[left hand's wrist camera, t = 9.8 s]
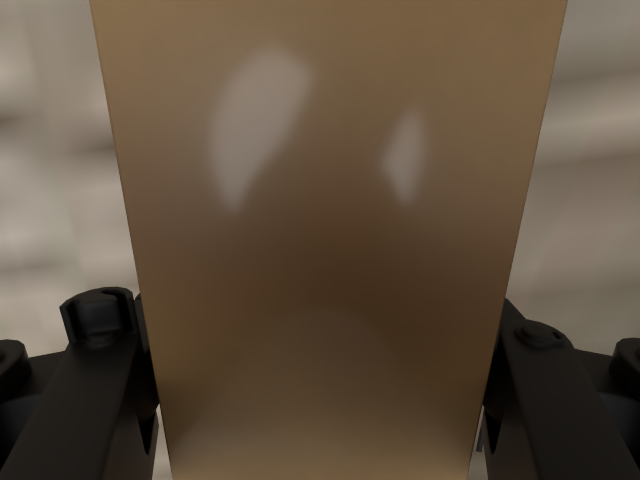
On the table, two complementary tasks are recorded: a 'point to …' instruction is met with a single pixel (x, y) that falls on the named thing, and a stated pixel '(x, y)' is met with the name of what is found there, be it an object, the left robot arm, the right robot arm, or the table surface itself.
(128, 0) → the beam
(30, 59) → the table surface
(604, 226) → the table surface
